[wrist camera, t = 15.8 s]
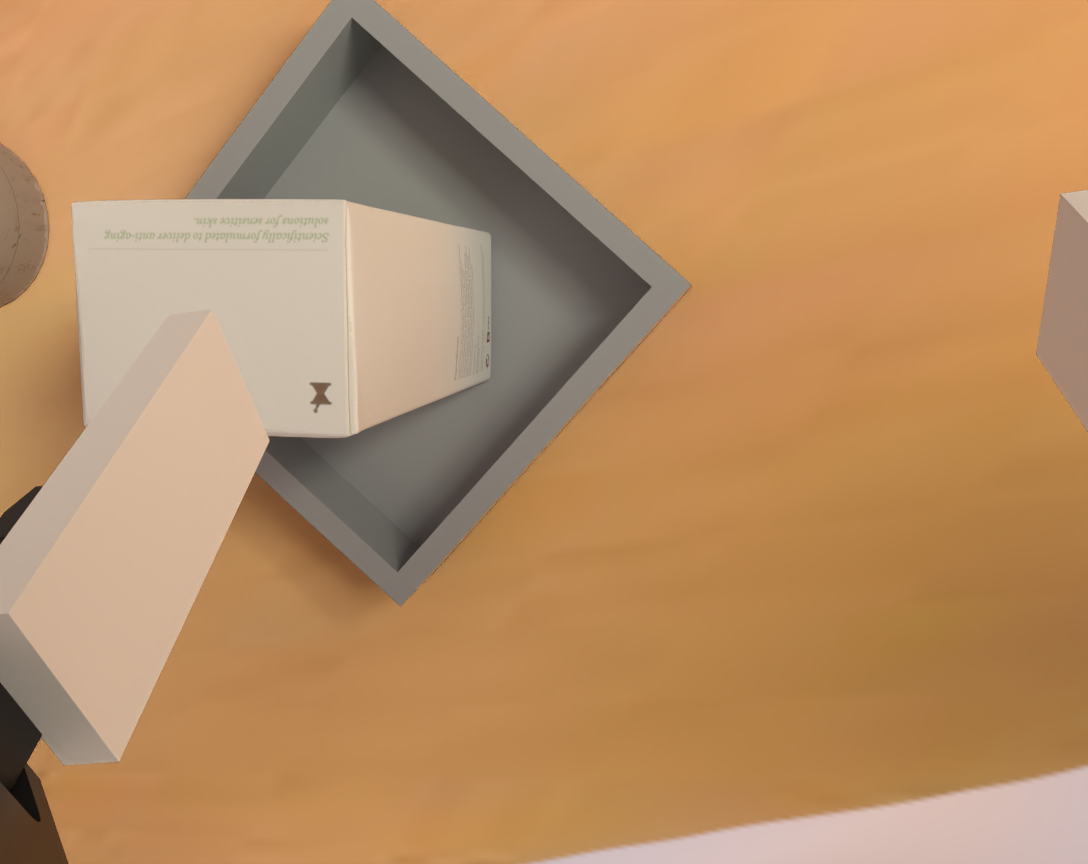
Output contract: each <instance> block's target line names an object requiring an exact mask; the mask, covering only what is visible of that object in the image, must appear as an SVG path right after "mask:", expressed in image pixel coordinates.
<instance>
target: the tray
mask: <svg viewBox="0 0 1088 864" xmlns="http://www.w3.org/2000/svg"><path fill="white" fill-rule="evenodd" d="M185 199H338V200H346V201H349V202H353V203H357V204H362V205H366V206H369V207H374V208H379V209H383V210H388V211H393V212H397V213H401V214H406V215H411V216H415V217H419V218H424V219H428V220H433V221H438V222H441V223H446V224H450V225H455V226H460V227H465V228H470V229H474V230H479V231H484V232H488V233H490V235H491V376H490V379H489V380H488V381H487V382H483V383H480V384H477V385H475V386H472V387H469V388H467V389H464V390H462V391H459V392H457V393H454V394H452V395H449V396H447V397H444V398H442V399H439V400H437V401H434V402H432V403H429V404H427V405H424V406H422V407H419V408H417V409H414V410H412V411H409V412H407V413H404V414H402V415H399V416H397V417H394V418H392V419H390V420H387V421H385V422H382V423H380V424H377V425H375V426H372V427H370V428H368V429H365V430H363V431H361V432H359V433H358V434H354V435H351V436H349V437H346V438H312V437H284V436H268V438H269V440H270V441H269V443H268V445H267V447H266V450H265V452H264V454H263V456H262V458H261V460H260V462H259V465H258V467H257V469H256V471H255V473H256V474H257V475H258V476H259V477H261V478H262V479H263V480H264V481H265V482H266V483H267V484H268V485H269V486H270V487H271V488H272V489H274V490H275V491H276V492H277V493H278V494H279V495H280V496H281V497H282V498H283V499H284V500H285V501H287V502H288V503H289V504H290V505H291V506H292V507H293V508H294V509H295V510H296V511H297V512H298V513H300V514H301V515H302V516H303V517H304V518H305V519H306V520H307V521H308V522H309V523H310V524H311V525H313V526H314V527H315V528H316V529H317V530H318V531H319V532H320V533H321V534H322V535H323V536H324V537H326V538H327V539H328V540H329V541H330V542H331V543H332V544H333V545H334V546H335V547H336V548H337V549H339V550H340V551H341V552H342V553H343V554H344V555H345V556H346V557H347V558H348V559H349V560H350V561H352V562H353V563H354V564H355V565H356V566H357V567H358V568H359V569H360V570H361V571H362V572H363V573H365V574H366V575H367V576H368V577H369V578H370V579H371V580H372V581H373V582H374V583H375V584H376V585H378V586H379V587H380V588H381V589H382V590H383V591H384V592H385V593H386V594H387V595H388V596H389V597H391V598H392V599H393V600H394V601H395V602H396V603H397V604H398V605H399V606H401V605H402V604H403V603H404V602H405V601H406V600H407V599H408V598H409V597H410V596H411V595H412V594H413V593H414V592H415V591H416V590H417V589H418V588H419V587H420V586H421V585H422V584H423V583H424V582H425V581H426V580H427V579H428V578H429V577H430V576H431V575H432V574H433V573H434V572H435V571H436V569H437V568H438V567H439V566H440V565H441V564H442V563H443V562H444V561H445V560H446V558H447V557H448V556H449V555H450V554H451V553H452V552H453V551H454V550H455V548H456V547H457V546H458V545H459V544H460V543H461V542H462V541H463V540H464V538H465V537H466V536H467V535H468V534H469V533H470V532H471V531H472V530H473V528H474V527H475V526H476V525H477V524H478V523H479V522H480V521H481V520H482V518H483V517H484V516H485V515H486V514H487V513H488V512H489V511H490V510H491V509H492V507H493V506H494V505H495V504H496V503H497V502H498V501H499V500H500V499H501V497H502V496H503V495H504V494H505V493H506V492H507V491H508V490H509V489H510V487H511V486H512V485H513V484H514V483H515V482H516V481H517V480H518V479H519V477H520V476H521V475H522V474H523V473H524V472H525V471H526V470H527V469H528V468H529V466H530V465H531V464H532V463H533V462H534V461H535V460H536V459H537V458H538V456H539V455H540V454H541V453H542V452H543V451H544V450H545V449H546V448H547V446H548V445H549V444H550V443H551V442H552V441H553V440H554V439H555V438H556V436H557V435H558V434H559V433H560V432H561V431H562V430H563V429H564V428H565V426H566V425H567V424H568V423H569V422H570V421H571V420H572V419H573V418H574V417H575V415H576V414H577V413H578V412H579V411H580V410H581V409H582V408H583V407H584V405H585V404H586V403H587V402H588V401H589V400H590V399H591V398H592V397H593V395H594V394H595V393H596V392H597V391H598V390H599V389H600V388H601V387H602V385H603V384H604V383H605V382H606V381H607V380H608V379H609V378H610V377H611V375H612V374H613V373H614V372H615V371H616V370H617V369H618V368H619V367H620V366H621V364H622V363H623V362H624V361H625V360H626V359H627V358H628V357H629V356H630V354H631V353H632V352H633V351H634V350H635V349H636V348H637V347H638V346H639V344H640V343H641V342H642V341H643V340H644V339H645V338H646V337H647V336H648V334H649V333H650V332H651V331H652V330H653V329H654V328H655V327H656V326H657V325H658V323H659V322H660V321H661V320H662V319H663V318H664V317H665V316H666V315H667V313H668V312H669V311H670V310H671V309H672V308H673V307H674V306H675V305H676V303H677V302H678V301H679V300H680V299H681V298H682V297H683V296H684V295H685V293H686V292H687V291H688V290H689V289H690V288H691V287H692V286H691V284H690V283H689V282H688V281H686V280H685V279H684V278H683V277H682V276H681V275H680V274H679V273H678V272H676V271H675V270H674V269H673V268H672V267H671V266H670V265H669V264H668V263H666V262H665V261H664V260H663V259H662V258H661V257H660V256H659V255H658V254H656V253H655V252H654V251H653V250H652V249H651V248H650V247H649V246H647V245H646V244H645V243H644V242H643V241H642V240H641V239H640V238H639V237H637V236H636V235H635V234H634V233H633V232H632V231H631V230H630V229H629V228H627V227H626V226H625V225H624V224H623V223H622V222H621V221H620V220H618V219H617V218H616V217H615V216H614V215H613V214H612V213H611V212H610V211H608V210H607V209H606V208H605V207H604V206H603V205H602V204H601V203H600V202H598V201H597V200H596V199H595V198H594V197H593V196H592V195H591V194H589V193H588V192H587V191H586V190H585V189H584V188H583V187H582V186H581V185H579V184H578V183H577V182H576V181H575V180H574V179H573V178H572V177H571V176H569V175H568V174H567V173H566V172H565V171H564V170H563V169H562V168H560V167H559V166H558V165H557V164H556V163H555V162H554V161H553V160H552V159H550V158H549V157H548V156H547V155H546V154H545V153H544V152H543V151H542V150H540V149H539V148H538V147H537V146H536V145H535V144H534V143H533V142H531V141H530V140H529V139H528V138H527V137H526V136H525V135H524V134H523V133H521V132H520V131H519V130H518V129H517V128H516V127H515V126H514V125H513V124H511V123H510V122H509V121H508V120H507V119H506V118H505V117H504V116H503V115H501V114H500V113H499V112H498V111H497V110H496V109H495V108H494V107H492V106H491V105H490V104H489V103H488V102H487V101H486V100H485V99H484V98H482V97H481V96H480V95H479V94H478V93H477V92H476V91H475V90H474V89H472V88H471V87H470V86H469V85H468V84H467V83H466V82H465V81H463V80H462V79H461V78H460V77H459V76H458V75H457V74H456V73H455V72H453V71H452V70H451V69H450V68H449V67H448V66H447V65H446V64H445V63H443V62H442V61H441V60H440V59H439V58H438V57H437V56H436V55H434V54H433V53H432V52H431V51H430V50H429V49H428V48H427V47H426V46H424V45H423V44H422V43H421V42H420V41H419V40H418V39H417V38H416V37H414V36H413V35H412V34H411V33H410V32H409V31H408V30H407V29H405V28H404V27H403V26H402V25H401V24H400V23H399V22H398V21H397V20H395V19H394V18H393V17H392V16H391V15H390V14H389V13H388V12H387V11H385V10H384V9H383V8H382V7H381V6H380V5H379V4H378V3H376V2H375V1H374V0H331V2H330V3H329V5H328V6H327V7H326V9H325V10H324V11H323V13H322V14H321V15H320V17H319V18H318V19H317V21H316V22H315V23H314V25H313V26H312V28H311V29H310V30H309V32H308V33H307V34H306V36H305V37H304V38H303V40H302V41H301V42H300V44H299V45H298V47H297V48H296V49H295V51H294V52H293V53H292V55H291V56H290V57H289V59H288V60H287V61H286V63H285V64H284V65H283V67H282V68H281V70H280V71H279V72H278V74H277V75H276V76H275V78H274V79H273V80H272V82H271V83H270V84H269V86H268V87H267V89H266V90H265V91H264V93H263V94H262V95H261V97H260V98H259V99H258V101H257V102H256V103H255V105H254V106H253V107H252V109H251V110H250V112H249V113H248V114H247V116H246V117H245V118H244V120H243V121H242V122H241V124H240V125H239V126H238V128H237V129H236V130H235V132H234V133H233V135H232V136H231V137H230V139H229V140H228V141H227V143H226V144H225V145H224V147H223V148H222V149H221V151H220V152H219V154H218V155H217V156H216V158H215V159H214V160H213V162H212V163H211V164H210V166H209V167H208V168H207V170H206V171H205V172H204V174H203V175H202V177H201V178H200V179H199V181H198V182H197V183H196V185H195V186H194V187H193V189H192V190H191V191H190V193H189V194H188V195H187V197H186V198H185Z"/></svg>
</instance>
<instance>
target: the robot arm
mask: <svg viewBox="0 0 1088 864" xmlns="http://www.w3.org/2000/svg"><path fill="white" fill-rule="evenodd" d="M1036 355H1037V357H1038V358H1039V360H1040V361H1041V363H1042V364H1043V366H1044V367H1045V369H1046V370H1047V372H1048V373H1049V375H1050V376H1051V378H1052V379H1053V381H1054V382H1055V384H1056V385H1057V387H1058V388H1059V390H1060V391H1061V393H1062V394H1063V396H1064V397H1065V399H1066V400H1067V402H1068V403H1069V405H1070V406H1071V408H1072V409H1073V411H1074V412H1075V414H1076V415H1077V417H1078V418H1079V420H1080V421H1081V423H1082V424H1083V426H1084V427H1085V429H1086V430H1087V432H1088V190H1084V191H1076V192H1069V193H1061V194H1060V201H1059V208H1058V214H1057V221H1056V227H1055V234H1054V240H1053V247H1052V253H1051V260H1050V266H1049V273H1048V280H1047V286H1046V293H1045V299H1044V306H1043V312H1042V319H1041V325H1040V332H1039V339H1038V345H1037V352H1036ZM269 441H270V440H269V438H268V436H267V434H266V431H265V429H264V427H263V424H262V422H261V420H260V418H259V415H258V413H257V411H256V408H255V406H254V404H253V402H252V399H251V397H250V395H249V393H248V390H247V388H246V386H245V383H244V381H243V379H242V377H241V374H240V372H239V370H238V368H237V365H236V363H235V361H234V358H233V356H232V354H231V352H230V349H229V347H228V345H227V342H226V340H225V338H224V336H223V333H222V331H221V329H220V327H219V324H218V322H217V320H216V317H215V315H214V313H213V311H212V309H209V310H202V311H195V312H187V313H180V314H173V315H169V316H168V317H167V318H166V320H165V321H164V322H163V324H162V325H161V326H160V328H159V329H158V331H157V332H156V333H155V335H154V336H153V337H152V339H151V340H150V341H149V343H148V344H147V345H146V347H145V348H144V350H143V351H142V352H141V354H140V355H139V356H138V358H137V359H136V360H135V362H134V363H133V365H132V366H131V367H130V369H129V370H128V371H127V373H126V374H125V375H124V377H123V378H122V380H121V381H120V382H119V384H118V385H117V386H116V388H115V389H114V390H113V392H112V393H111V394H110V396H109V397H108V399H107V400H106V401H105V403H104V404H103V405H102V407H101V408H100V409H99V411H98V412H97V414H96V415H95V416H94V418H93V419H92V420H91V422H90V423H89V424H88V426H87V427H86V428H85V430H84V431H83V433H82V434H81V435H80V437H79V438H78V439H77V441H76V442H75V443H74V445H73V446H72V448H71V449H70V450H69V452H68V453H67V454H66V456H65V457H64V458H63V460H62V461H61V463H60V464H59V465H58V467H57V468H56V469H55V471H54V472H53V473H52V475H51V476H50V477H49V479H48V480H47V482H46V483H45V484H44V486H38V487H35V488H34V489H32V490H31V491H30V492H29V493H27V494H26V495H25V496H24V497H23V498H21V499H20V500H19V501H18V502H16V503H15V504H14V505H13V506H12V507H10V508H9V509H8V510H7V511H5V512H4V514H3V515H2V516H1V518H0V864H68V861H67V858H66V855H65V852H64V849H63V846H62V844H61V841H60V838H59V835H58V832H57V829H56V826H55V823H54V820H53V817H52V814H51V811H50V808H49V805H48V802H47V799H46V796H45V793H44V790H43V787H42V784H41V781H40V779H39V778H38V776H37V775H36V774H35V773H34V771H33V770H32V769H31V768H30V767H29V765H28V764H27V761H28V760H29V758H30V756H31V754H32V752H33V751H34V749H35V747H36V745H37V743H38V742H39V740H40V738H42V739H43V740H44V741H45V743H46V744H47V745H48V746H49V748H50V749H51V750H52V751H53V753H54V754H55V755H56V756H57V758H58V759H59V760H60V761H61V762H62V764H63V765H78V764H94V763H111V762H119V761H120V759H121V757H122V754H123V752H124V750H125V748H126V746H127V744H128V742H129V740H130V737H131V735H132V733H133V731H134V729H135V727H136V725H137V723H138V720H139V718H140V716H141V714H142V712H143V710H144V708H145V705H146V703H147V701H148V699H149V697H150V695H151V693H152V691H153V688H154V686H155V684H156V682H157V680H158V678H159V676H160V673H161V671H162V669H163V667H164V665H165V663H166V661H167V659H168V656H169V654H170V652H171V650H172V648H173V646H174V644H175V641H176V639H177V637H178V635H179V633H180V631H181V629H182V627H183V624H184V622H185V620H186V618H187V616H188V614H189V612H190V610H191V607H192V605H193V603H194V601H195V599H196V597H197V595H198V592H199V590H200V588H201V586H202V584H203V582H204V580H205V578H206V575H207V573H208V571H209V569H210V567H211V565H212V563H213V560H214V558H215V556H216V554H217V552H218V550H219V548H220V546H221V543H222V541H223V539H224V537H225V535H226V533H227V531H228V529H229V526H230V524H231V522H232V520H233V518H234V516H235V514H236V511H237V509H238V507H239V505H240V503H241V501H242V499H243V497H244V494H245V492H246V490H247V488H248V486H249V484H250V482H251V479H252V477H253V475H254V473H255V471H256V469H257V467H258V465H259V462H260V460H261V458H262V456H263V454H264V452H265V450H266V447H267V445H268V443H269Z"/></svg>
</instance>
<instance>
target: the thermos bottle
mask: <svg viewBox="0 0 1088 864" xmlns="http://www.w3.org/2000/svg"><path fill="white" fill-rule="evenodd" d="M48 236H49V223H48V212H47V208H46V204H45V201H44V197H43V194H42V192H41V189H40V187H39V185H38V183H37V181H36V179H35V177H34V176H33V174H32V173H31V172H30V170H29V169H28V167H27V166H26V164H25V163H24V162H22V161H21V160H20V159H19V158H18V157H17V156H16V155H15V154H14V153H13V152H12V151H11V150H9V149H8V148H6V147H5V146H3V145H2V144H0V307H1V306H3V305H5V304H7V303H9V302H11V301H13V300H15V299H16V298H17V297H18V296H19V295H21V294H22V293H23V292H24V291H25V290H26V289H27V288H28V287H29V286H30V284H31V283H32V282H33V280H34V279H35V278H36V276H37V274H38V272H39V270H40V268H41V266H42V264H43V262H44V258H45V254H46V251H47V247H48Z"/></svg>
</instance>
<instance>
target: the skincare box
mask: <svg viewBox="0 0 1088 864" xmlns="http://www.w3.org/2000/svg"><path fill="white" fill-rule="evenodd" d="M71 214H72V232H73V248H74V262H75V277H76V296H77V314H78V333H79V350H80V368H81V385H82V402H83V423H84V426H85V427H87V426H88V424H89V423H90V422H91V420H92V419H93V418H94V416H95V415H96V414H97V412H98V411H99V409H100V408H101V407H102V405H103V404H104V403H105V401H106V400H107V399H108V397H109V396H110V394H111V393H112V392H113V390H114V389H115V388H116V386H117V385H118V384H119V382H120V381H121V380H122V378H123V377H124V375H125V374H126V373H127V371H128V370H129V369H130V367H131V366H132V365H133V363H134V362H135V360H136V359H137V358H138V356H139V355H140V354H141V352H142V351H143V350H144V348H145V347H146V345H147V344H148V343H149V341H150V340H151V339H152V337H153V336H154V335H155V333H156V332H157V331H158V329H159V328H160V326H161V325H162V324H163V322H164V321H165V320H166V318H167V317H168V316H169V315H173V314H180V313H187V312H195V311H202V310H209V309H212V311H213V313H214V315H215V317H216V320H217V322H218V324H219V327H220V329H221V331H222V333H223V336H224V338H225V340H226V342H227V345H228V347H229V349H230V352H231V354H232V356H233V358H234V361H235V363H236V365H237V368H238V370H239V372H240V374H241V377H242V379H243V381H244V383H245V386H246V388H247V390H248V393H249V395H250V397H251V399H252V402H253V404H254V406H255V408H256V411H257V413H258V415H259V418H260V420H261V422H262V424H263V427H264V429H265V431H266V434H267V436H284V437H312V438H346V437H349V436H351V435H354V434H358V433H359V432H361V431H363V430H365V429H368V428H370V427H372V426H375V425H377V424H380V423H382V422H385V421H387V420H390V419H392V418H394V417H397V416H399V415H402V414H404V413H407V412H409V411H412V410H414V409H417V408H419V407H422V406H424V405H427V404H429V403H432V402H434V401H437V400H439V399H442V398H444V397H447V396H449V395H452V394H454V393H457V392H459V391H462V390H464V389H467V388H469V387H472V386H475V385H477V384H480V383H483V382H487V381H488V380H489V379H490V376H491V235H490V233H488V232H484V231H479V230H474V229H470V228H465V227H460V226H455V225H450V224H446V223H441V222H438V221H433V220H428V219H424V218H419V217H415V216H411V215H406V214H401V213H397V212H393V211H388V210H383V209H379V208H374V207H369V206H366V205H362V204H357V203H353V202H349V201H346V200H338V199H161V200H103V201H85V202H74V203H72V205H71Z"/></svg>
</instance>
